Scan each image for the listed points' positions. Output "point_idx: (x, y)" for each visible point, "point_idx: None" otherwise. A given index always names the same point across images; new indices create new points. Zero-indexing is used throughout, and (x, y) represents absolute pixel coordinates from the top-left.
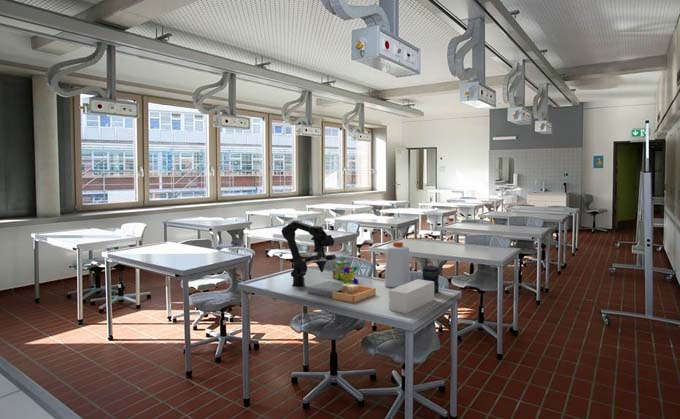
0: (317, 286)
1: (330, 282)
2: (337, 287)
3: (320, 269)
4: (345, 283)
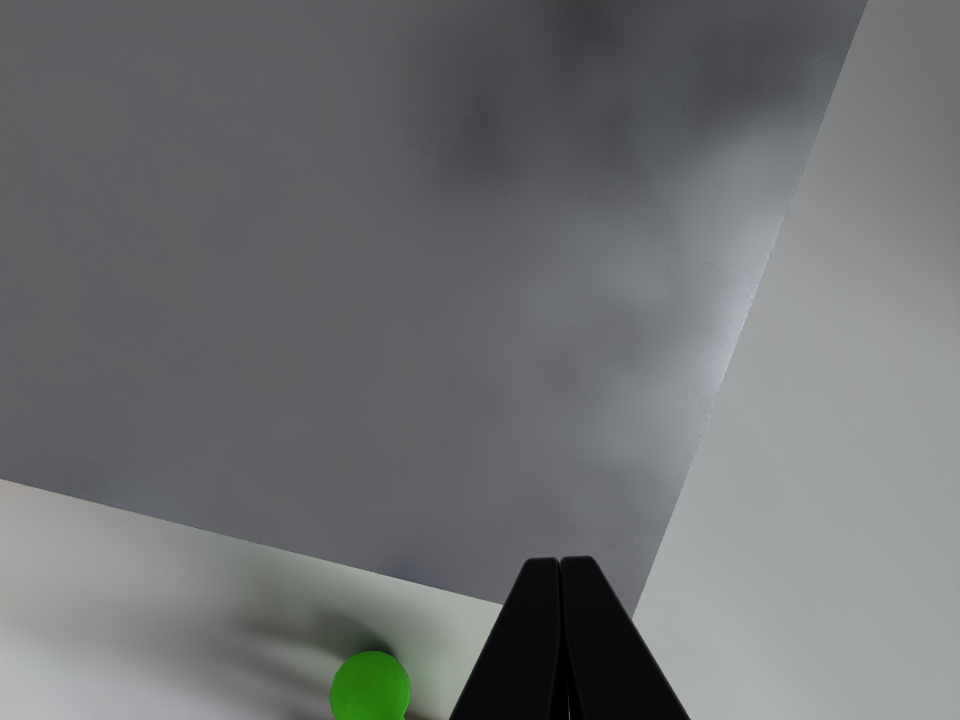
0: (614, 7)
1: (508, 533)
2: (56, 180)
3: (602, 655)
4: (360, 669)
